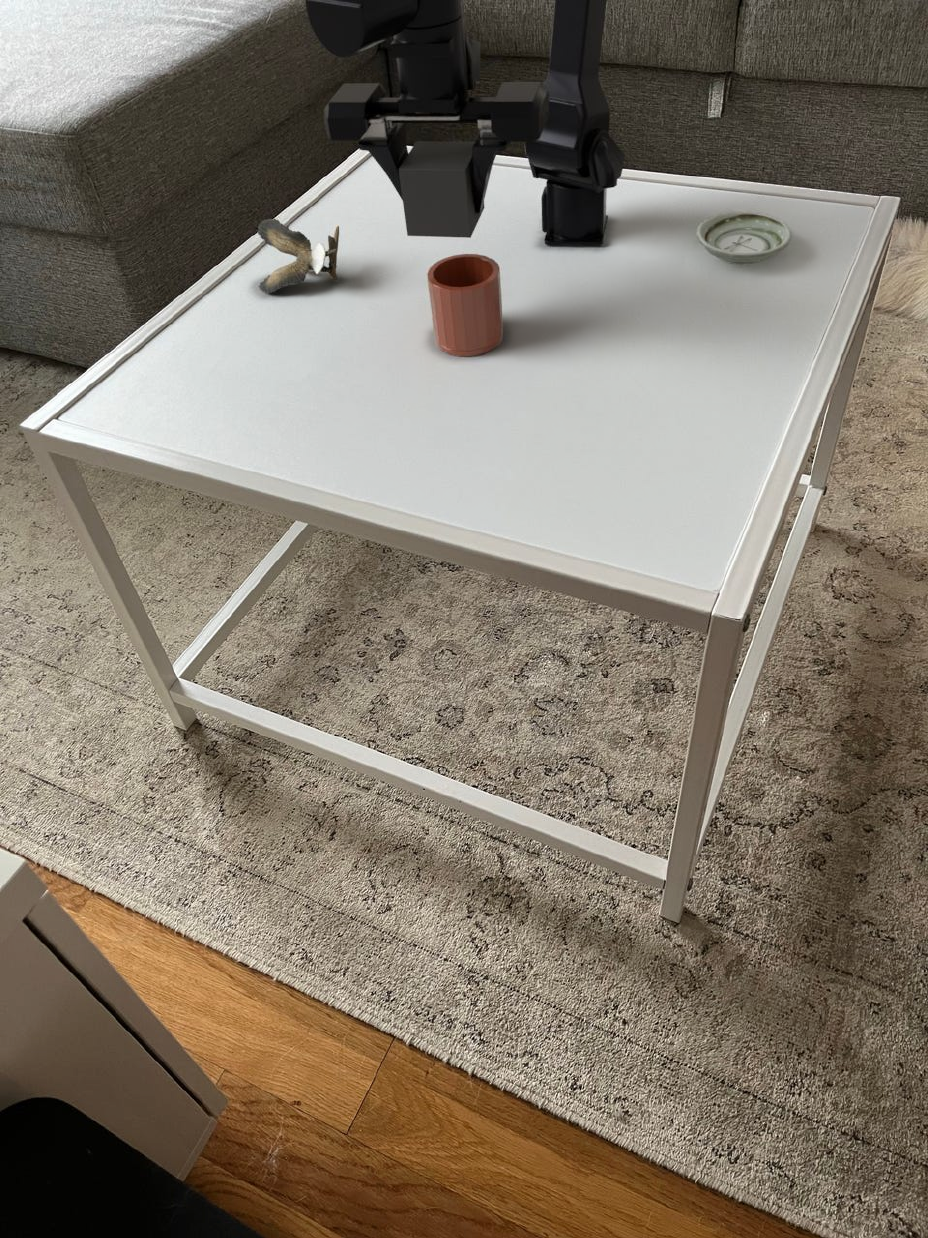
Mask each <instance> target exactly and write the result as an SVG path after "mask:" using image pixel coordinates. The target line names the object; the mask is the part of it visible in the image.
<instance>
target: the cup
mask: <svg viewBox="0 0 928 1238" xmlns="http://www.w3.org/2000/svg"><path fill="white" fill-rule="evenodd" d="M426 276H427V285H428V292H429V302H430V309H431V317H432V325H433V333H434V340H435V345H436V346H437V347H438V349H439V350H441V351H442V352H444V353H445V354H448V355H451V356H455V357H475V356H479V355H483V354H486V353H488V352H490V351H492V350H494V349H496V348H497V347H498V346H499V345H500V344H501V343H502V341H503V339H504V317H503V302H502V300H503V299H502V285H501V270H500V266H499V264H498V263H497V262H496V260H494V259H493V258H491V257H489V256H486V255H483V254H479V253H478V254H477V253H462V254H455V255H450V256H447V257H444V258H441V259H440V260H437V261H435V263H434V264H433V265H431V266H430V267H429V269H428V271H427V273H426Z"/></svg>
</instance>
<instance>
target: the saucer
mask: <svg viewBox="0 0 928 1238" xmlns="http://www.w3.org/2000/svg"><path fill="white" fill-rule="evenodd" d="M695 234H696V239H697V241H698V243H699V244H700V245H701V246H702V247H703V248H704V249H705V250H706V251H707V252H708V253H709V254H711V255H712V256H714V257H716V258H718V259H720V260H721V261H723V262H726V263H728V264H734V265H749V264H754V263H757V262H759V261H760V262H761V261H763V260H766V259H769V258H772V257H773V256H775V255H776V254H778V253H779V252H781V251H782V250H784V249H785V248H787V246H788V245H789V244H790V242H791V240H792V237H793V236H792V229H791V228H790V227H789V225H788V224H787V223H786V222H785V221H783V220H782V219H780V218H778V217H776V216H773V215H771V214H768V213H763V212H758V211H749V210H748V211H747V210H740V211H739V210H738V211H736V210H735V211H727V212H722V213H718V214H715V215H712V216H710V217H707V218H706V219H704V220H703V221H702V222H701V223H700V224H699V225H698V226H697V228H696V233H695Z"/></svg>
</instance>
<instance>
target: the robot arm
mask: <svg viewBox="0 0 928 1238" xmlns="http://www.w3.org/2000/svg"><path fill="white" fill-rule="evenodd" d="M607 1H608V0H554V6H553V15H552V16H553V17H552V28H551V29H552V30H551V38H550V39H551V41H550V50H549V51H550V52H549V63H548V72H547V76H546V78H545V80H544V81H511V82H510V81H508V82H506V81H502V83H501V85H500V87H499V89H498V91H497V92H496V94H495V96H487V97H486V96H485V97H484V96H482V97H480V96H479V97H478V96H476V97H475V96H471V97H470V95H469V91H471V92H472V91H474V90H475V89H476V87H477V84H480V83H481V42H480V41H477V40H474V39H469V36H468V27H467V24H466V23H467V22H466V19H465V18H464V13H463V12H464V11H463V1H462V0H305V9H306V13H307V18H308V22H309V24H310V27H311V29H312V31H313V33H314V35H315V36H316V38H317V40H318V41H319V42H320V43H321V45H322V46H323V48H325V50H327V51H328V52H329V53H330V54H332V55H334V56H335V57H338V58H340V59H345V58H351V57H353V56H356V55H357V54H360V53H362V52H364V51H366V50H368V49H370V48H373V47H374V46H377V45H378V44H380V43H382V42H385V41H387V40H389V39H391V38H393V41H392V42H391V43H390V50H391V58H392V59H396V67H397V73H398V84H399V90H400V96H399V97H386V92H385V88H383V86H382V84H381V83H380V82H374V83H373V82H368V83H366V82H365V83H360V82H359V83H343V84H342V86H341V87H340V88H339V89H338V90H337V92H336V93H335V94H334V95H333V96H332V97H331V99H330V100H329V101H328V103H327V104H326V105H325V107H324V110H323V123H324V129H325V133H326V138H327V139H328V140H330V141H333V142H336V141H338V142H342V141H344V142H345V141H346V142H351V141H352V142H353V141H354V142H357V146H358V150H359V151H366V152H369V154H370V155H371V156H372V158H373V159H374V160H375V162H376V163H377V164H378V165H379V167H380V168H381V170H382V171H383V172H384V173H385V175H386V176H387V178H388V179H389V181H390V182H391V184H392V186H393V188H394V189H395V191H396V192H397V194H398V195H399V197H400V199H401V200H402V201H403V198H402V190H401V182H400V175H399V168H400V167H401V165H402V163H403V162H404V160H405V159H406V157H407V155H408V154H409V151H408V150H409V149H408V143H407V124H477V129H478V130H479V132H478V133H477V135H476V137H475V139H474V141H473V142H474V143H473V145H472V165H473V200H474V206H475V211H476V213H478V214H479V213H480V212H481V210H482V207H483V203H484V204H485V198H486V194H487V191H488V185H489V181H490V179H491V178H490V177H491V175H492V174H491V173H492V169H493V165H494V162H495V159H496V157H497V154H498V152H504V151H507V150H508V149H509V146H510V144H511V142H512V143H513V142H515V143H516V142H517V143H518V142H522V143H523V145H524V152H525V156H526V157H527V160H528V164H529V167H530V171H531V175H532V177H533V178H535V179H542V180H546V184H545V186H544V188H543V191H542V194H541V231H542V232H543V233H545V237H544V245H545V246H583V247H584V246H585V247H589V246H590V247H591V246H592V247H599V246H602V245H604V240H605V237H606V231H607V228H608V222H609V215H607V194H608V193H607V192H608V191H607V190H608V189H611V188H615V187H617V186H618V179H619V178H621V176H622V173H623V169H624V164H625V159H626V156H625V153H624V152H623V151H622V149H620V147H619V146H618V144H617V143H616V141H615V140H614V139H613V138H612V136H611V135H610V115H611V110H610V106H609V103H608V100H607V98H606V95H605V92H604V89H603V87H602V85H601V82H600V79H599V70H600V69H599V68H600V64H601V63H600V62H601V54H602V45H603V37H604V29H605V27H604V26H605V18H606V9H607Z"/></svg>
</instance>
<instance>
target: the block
mask: <svg viewBox="0 0 928 1238" xmlns="http://www.w3.org/2000/svg"><path fill="white" fill-rule="evenodd" d="M473 143H474V141H446V140H445V141H444V140H443V141H439V140H437V141H436V140H435V141H433V140H432V141H431V140H430V141H424V140H423V141H421V140H416V141H415V143H414V144H413V146H412V148H411V149H410V151H408V155H407V157H406V159H405V160H404V162H403V163H402V165H401V167H400V168H399V175H400V182H401V190H402V198H403V200H402V206H403V211H404V212H403V213H404V219H405V221H404V222H405V227H406V228H405V229H406V235H407V236H408V237H429V238H430V237H433V238H434V237H435V238H467V239H468V238H469V239H470V238H472V236H473V233H474V232H475V229H476V227H477V226H478V223H479V220H480V218H481V216H482V214H483V212H484V209H485V202H484V203H483V207H482V210H481V212H480V213H479V214H478V213H476V211H475V206H474V200H473V165H472V145H473Z"/></svg>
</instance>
